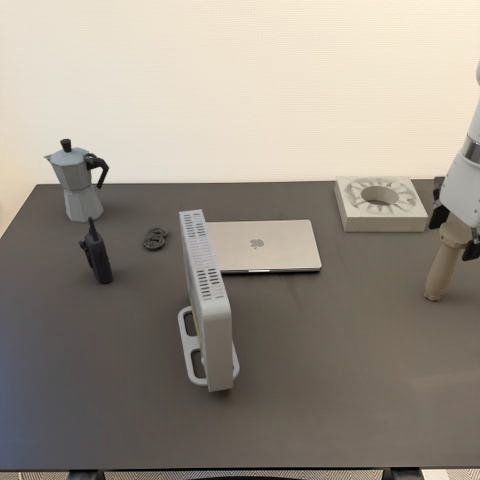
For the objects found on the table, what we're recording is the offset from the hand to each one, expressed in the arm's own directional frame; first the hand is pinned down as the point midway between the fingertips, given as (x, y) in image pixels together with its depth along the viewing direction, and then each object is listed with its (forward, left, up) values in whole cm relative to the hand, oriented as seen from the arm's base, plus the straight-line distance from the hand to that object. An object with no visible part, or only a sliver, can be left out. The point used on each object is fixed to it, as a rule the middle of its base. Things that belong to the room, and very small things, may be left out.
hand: (452, 242), depth 82 cm
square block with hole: (-5, -31, -13) cm, 34 cm away
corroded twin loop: (+48, -35, -13) cm, 61 cm away
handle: (0, 0, -13) cm, 13 cm away
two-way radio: (+61, -26, -13) cm, 67 cm away
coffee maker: (+61, -51, -13) cm, 80 cm away
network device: (+45, -2, -13) cm, 47 cm away
